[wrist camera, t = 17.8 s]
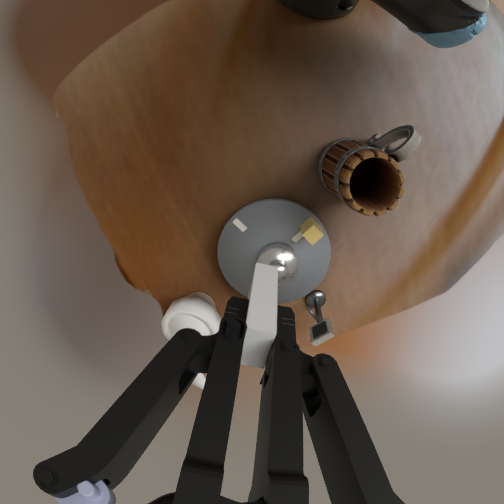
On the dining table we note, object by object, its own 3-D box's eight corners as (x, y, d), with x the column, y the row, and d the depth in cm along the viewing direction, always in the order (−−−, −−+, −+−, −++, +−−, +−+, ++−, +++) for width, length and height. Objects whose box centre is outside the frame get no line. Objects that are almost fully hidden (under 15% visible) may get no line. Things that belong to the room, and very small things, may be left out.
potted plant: (165, 298, 59) (118, 383, 36) (199, 270, 55) (154, 362, 32) (205, 333, 62) (177, 422, 40) (241, 310, 58) (221, 409, 36)
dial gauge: (328, 299, 55) (338, 340, 44) (312, 308, 56) (318, 350, 45) (311, 277, 53) (319, 317, 42) (295, 287, 54) (298, 328, 43)
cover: (278, 233, 46) (278, 245, 41) (305, 261, 47) (308, 275, 43) (249, 258, 48) (246, 272, 44) (276, 284, 50) (275, 299, 45)
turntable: (275, 173, 43) (275, 180, 38) (350, 254, 48) (358, 270, 43) (197, 250, 51) (188, 265, 45) (272, 314, 55) (271, 333, 50)
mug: (347, 208, 46) (373, 242, 33) (304, 168, 44) (316, 186, 31) (403, 149, 40) (448, 161, 27) (363, 105, 38) (399, 98, 25)
